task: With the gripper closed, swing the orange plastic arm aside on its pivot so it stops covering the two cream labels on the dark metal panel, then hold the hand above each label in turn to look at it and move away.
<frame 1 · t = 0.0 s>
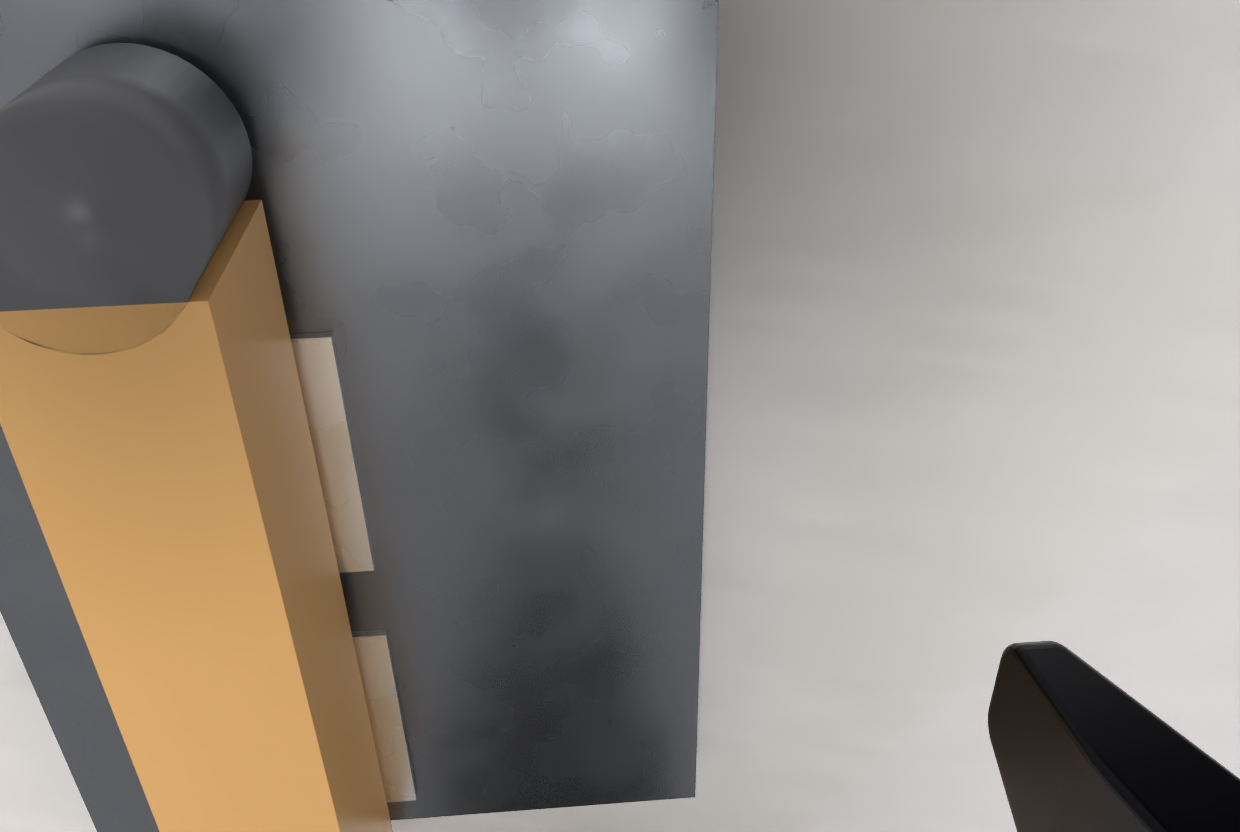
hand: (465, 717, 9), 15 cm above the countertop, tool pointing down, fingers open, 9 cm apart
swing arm: (230, 619, 22), point 4 cm above the countertop, hinge at 0.0°
label panel: (348, 456, 25), on the countertop
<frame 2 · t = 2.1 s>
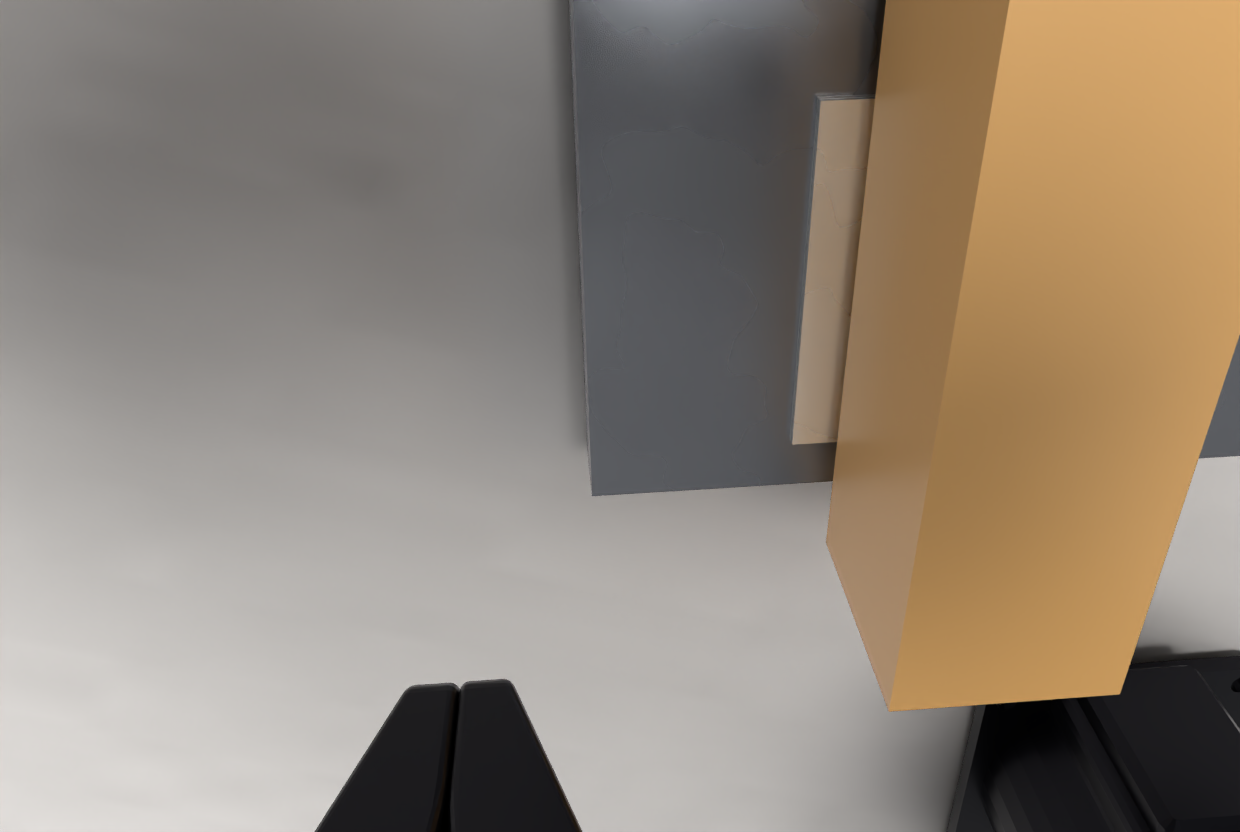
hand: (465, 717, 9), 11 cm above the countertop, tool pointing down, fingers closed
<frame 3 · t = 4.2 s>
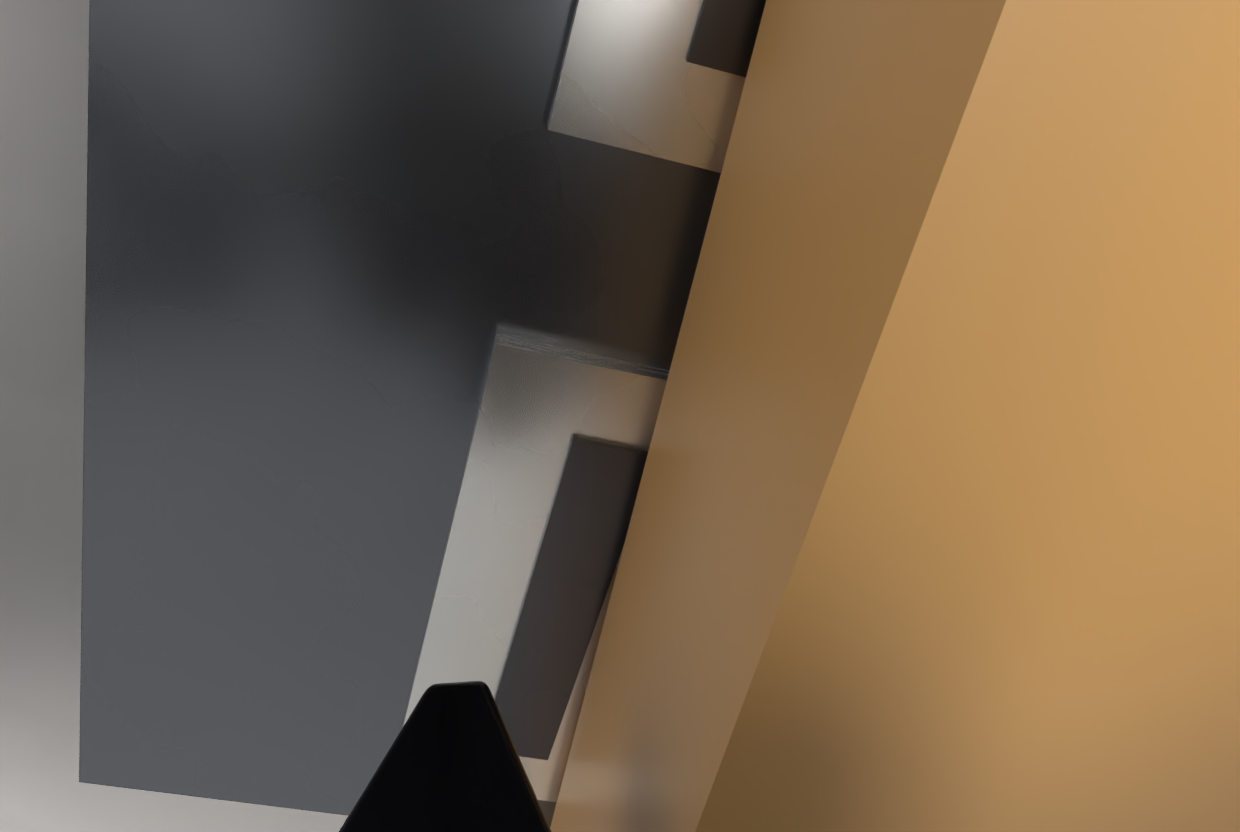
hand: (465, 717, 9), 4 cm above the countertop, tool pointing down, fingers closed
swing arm: (1068, 231, 7), point 4 cm above the countertop, hinge at 4.0°, touching gripper
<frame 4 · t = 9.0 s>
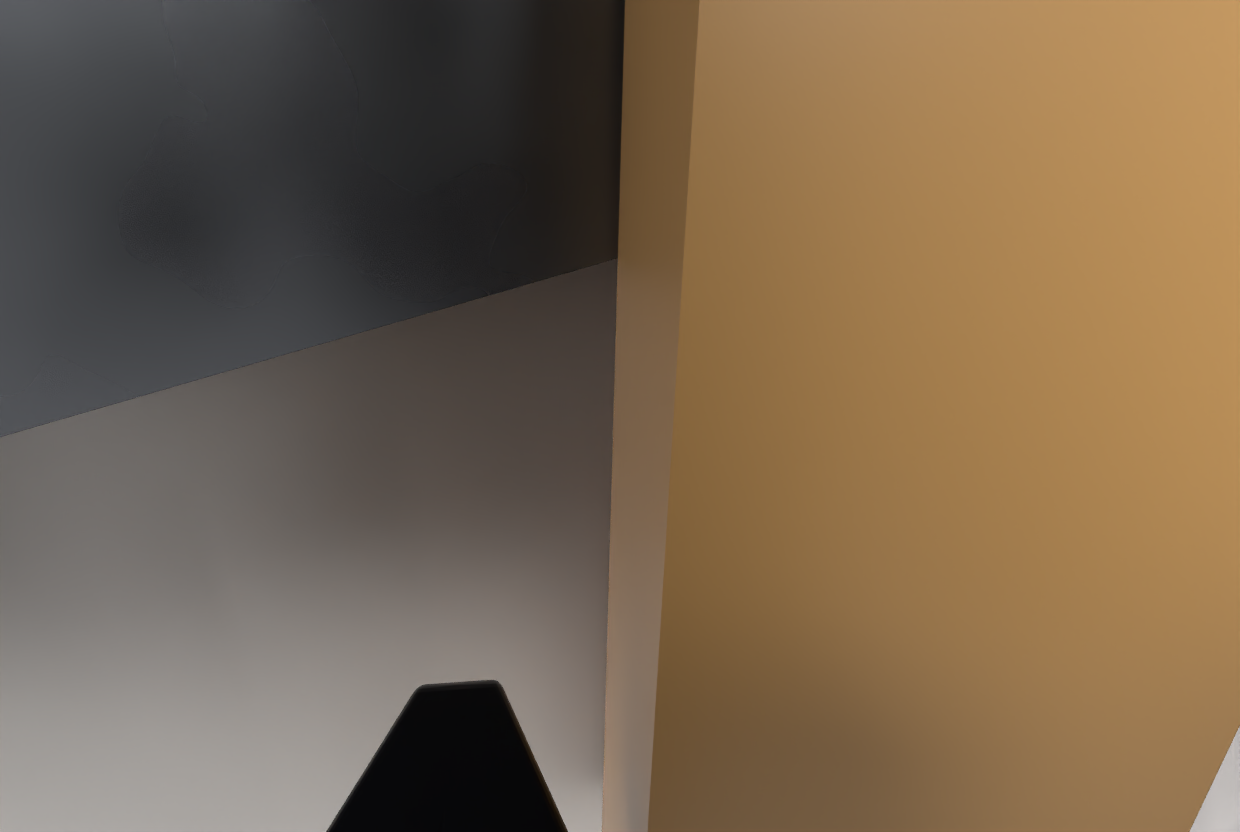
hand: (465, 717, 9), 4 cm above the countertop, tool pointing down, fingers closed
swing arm: (941, 133, 7), point 4 cm above the countertop, hinge at 72.5°, touching gripper
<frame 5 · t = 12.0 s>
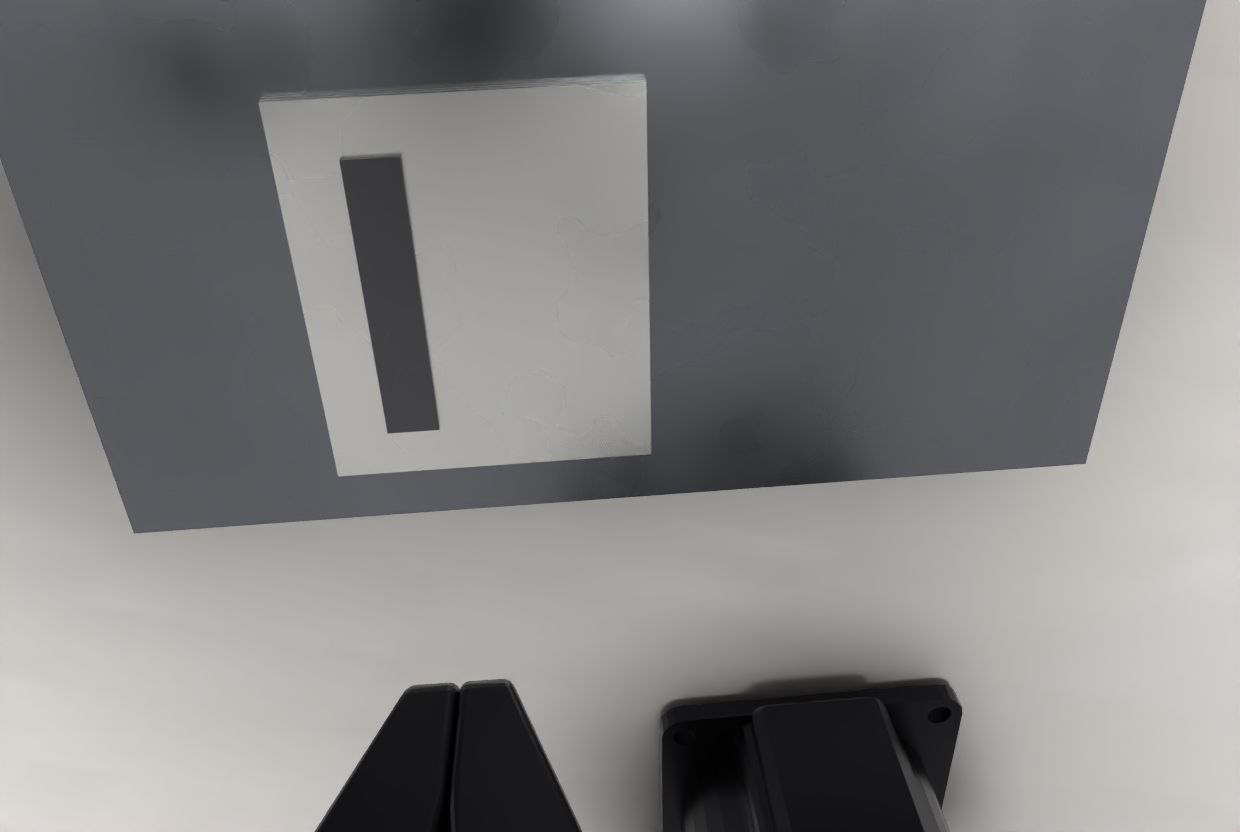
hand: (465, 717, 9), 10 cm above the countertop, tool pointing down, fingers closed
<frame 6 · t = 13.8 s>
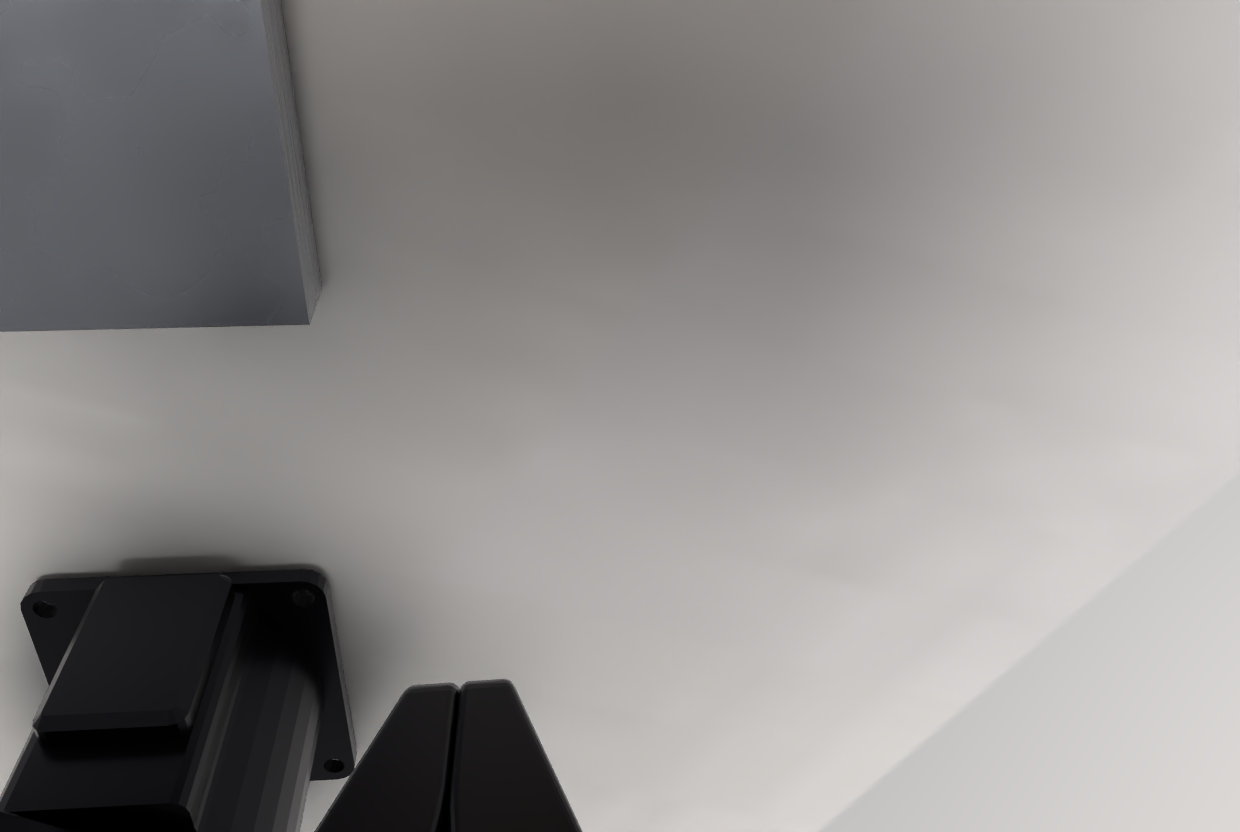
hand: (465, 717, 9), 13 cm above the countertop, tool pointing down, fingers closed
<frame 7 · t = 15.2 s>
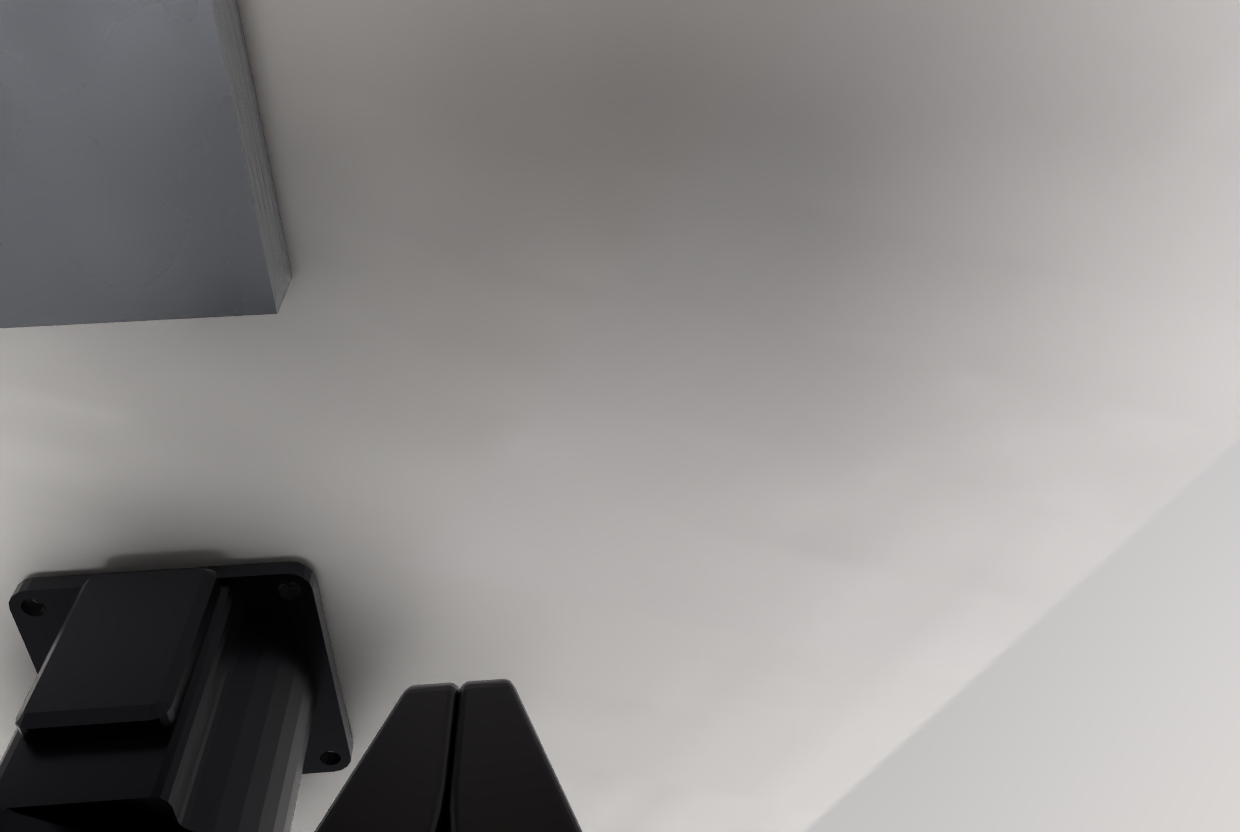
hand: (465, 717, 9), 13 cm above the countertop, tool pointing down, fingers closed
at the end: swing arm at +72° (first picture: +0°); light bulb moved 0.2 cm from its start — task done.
